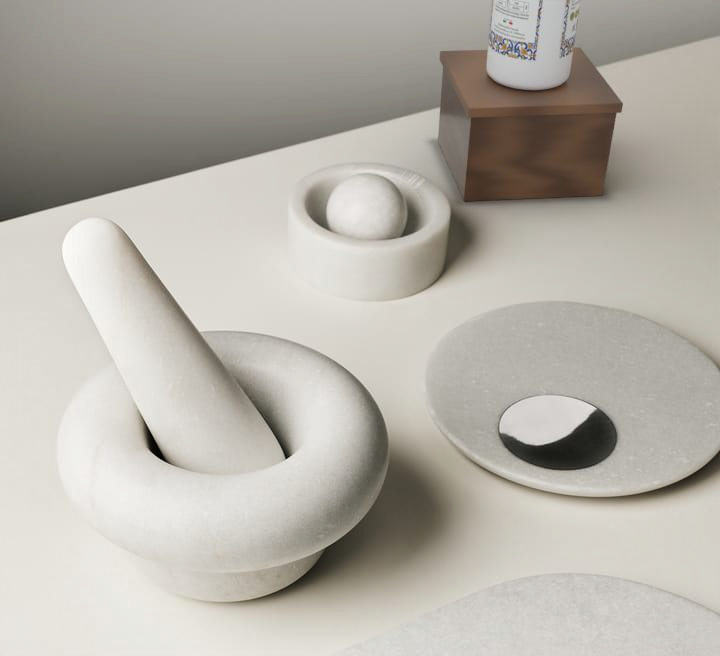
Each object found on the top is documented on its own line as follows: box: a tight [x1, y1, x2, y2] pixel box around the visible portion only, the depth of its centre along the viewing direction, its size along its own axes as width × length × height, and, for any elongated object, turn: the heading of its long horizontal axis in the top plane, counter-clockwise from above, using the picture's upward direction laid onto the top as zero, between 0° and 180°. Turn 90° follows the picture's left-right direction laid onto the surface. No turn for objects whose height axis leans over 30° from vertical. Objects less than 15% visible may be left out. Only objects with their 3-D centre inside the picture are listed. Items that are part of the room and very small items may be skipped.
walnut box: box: [437, 46, 624, 202], centre depth 98 cm, size 13×13×8 cm
